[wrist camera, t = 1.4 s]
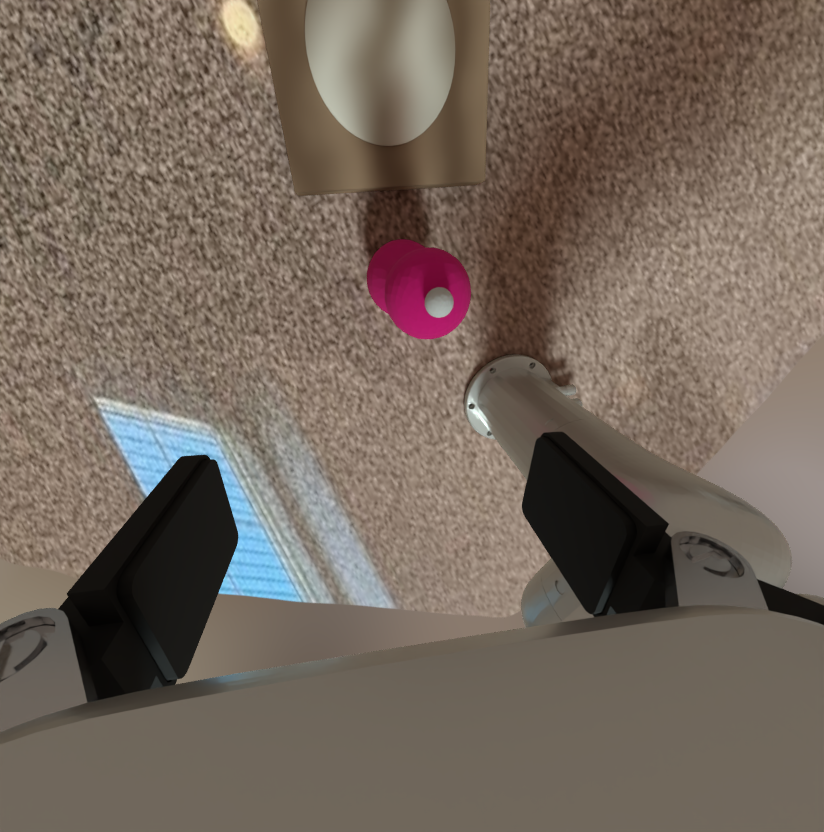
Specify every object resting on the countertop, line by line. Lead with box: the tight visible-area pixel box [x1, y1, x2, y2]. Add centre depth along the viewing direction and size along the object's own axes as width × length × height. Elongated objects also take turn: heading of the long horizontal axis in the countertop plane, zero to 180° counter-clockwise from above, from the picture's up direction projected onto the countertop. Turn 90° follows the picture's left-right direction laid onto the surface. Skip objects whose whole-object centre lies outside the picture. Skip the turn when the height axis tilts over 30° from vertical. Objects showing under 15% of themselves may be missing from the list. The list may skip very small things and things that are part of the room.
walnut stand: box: [257, 0, 490, 196], centre depth 28 cm, size 18×18×3 cm
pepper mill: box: [367, 239, 471, 339], centre depth 28 cm, size 7×7×20 cm
